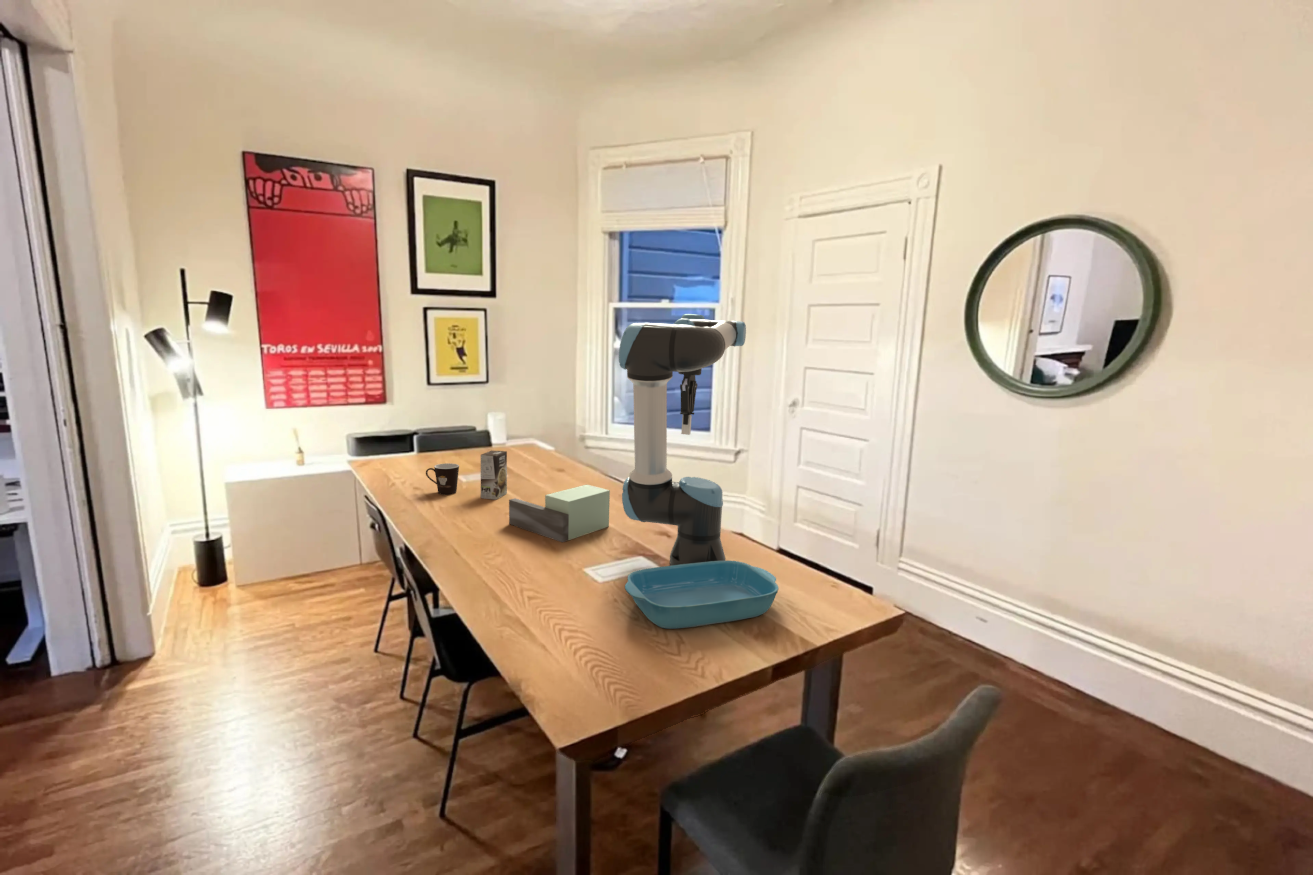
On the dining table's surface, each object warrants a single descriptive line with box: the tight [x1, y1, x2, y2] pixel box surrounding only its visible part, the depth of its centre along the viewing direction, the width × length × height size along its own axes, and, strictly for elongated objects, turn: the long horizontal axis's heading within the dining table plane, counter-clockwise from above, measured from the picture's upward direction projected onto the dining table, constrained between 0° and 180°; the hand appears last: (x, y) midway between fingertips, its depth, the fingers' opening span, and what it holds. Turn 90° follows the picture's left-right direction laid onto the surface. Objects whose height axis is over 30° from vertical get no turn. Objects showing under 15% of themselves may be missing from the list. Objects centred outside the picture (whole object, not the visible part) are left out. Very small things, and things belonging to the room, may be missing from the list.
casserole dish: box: [624, 560, 780, 630], centre depth 146 cm, size 37×22×7 cm, turn 113°
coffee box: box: [480, 449, 508, 501], centre depth 229 cm, size 9×6×16 cm
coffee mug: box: [425, 463, 460, 496], centre depth 233 cm, size 12×9×10 cm
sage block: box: [544, 484, 611, 541], centre depth 197 cm, size 18×10×12 cm, turn 142°
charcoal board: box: [508, 497, 569, 543], centre depth 193 cm, size 2×24×8 cm, turn 52°
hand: (685, 434), depth 210 cm, fingers closed
